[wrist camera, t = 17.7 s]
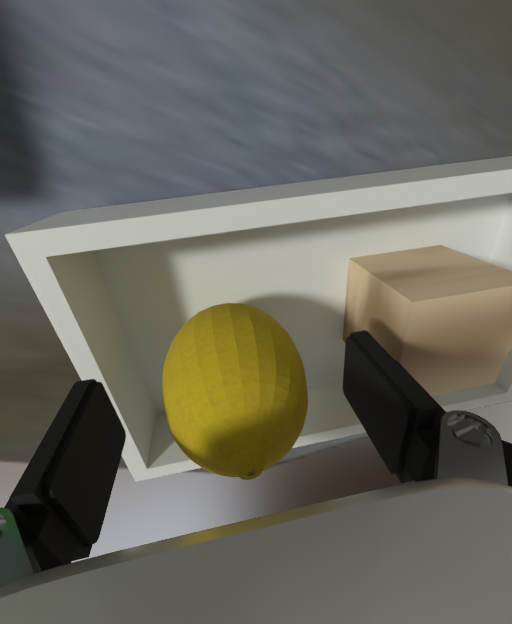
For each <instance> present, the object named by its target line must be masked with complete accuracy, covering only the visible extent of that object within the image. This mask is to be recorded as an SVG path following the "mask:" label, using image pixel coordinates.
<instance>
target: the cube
mask: <svg viewBox="0 0 512 624" xmlns="http://www.w3.org/2000/svg"><path fill="white" fill-rule="evenodd" d="M363 330H366V331H368V332H369V333H370V334H371V335H372V337H373V338H374V339H375V340H376V341H377V342H378V343H379V344H380V345H381V346H382V347H383V348H384V349H385V350H386V351H387V352H388V353H389V355H390V356H391V357H392V358H393V359H394V360H396V361H398V362H399V363H400V364H401V365H402V366H403V367H404V368H405V369H406V370H407V371H408V372H409V374H410V375H411V376H412V377H413V378H414V379H415V380H416V381H417V382H418V383H419V384H420V385H421V386H422V387H423V388H424V389H425V390H426V391H427V392H428V393H429V394H430V396H434V395H439V394H444V393H449V392H454V391H459V390H464V389H469V388H474V387H479V386H484V385H489V384H494V383H495V382H496V380H497V378H498V375H499V373H500V371H501V368H502V366H503V364H504V361H505V359H506V357H507V354H508V352H509V350H510V348H511V345H512V271H509V270H507V269H504V268H501V267H499V266H496V265H493V264H491V263H488V262H485V261H482V260H480V259H477V258H474V257H472V256H469V255H466V254H463V253H461V252H458V251H455V250H453V249H450V248H447V247H445V246H442V245H437V246H430V247H423V248H416V249H409V250H402V251H395V252H388V253H381V254H374V255H367V256H360V257H353V258H349V261H348V274H347V288H346V301H345V315H344V328H343V341H344V342H345V344H346V338H347V337H350V334H351V333H352V332H357V331H363Z"/></svg>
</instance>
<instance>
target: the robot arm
mask: <svg viewBox="0 0 512 624" xmlns="http://www.w3.org/2000/svg"><path fill="white" fill-rule="evenodd" d="M343 393H344V395H345V397H346V399H347V401H348V402H349V404H350V406H351V407H352V409H353V411H354V412H355V414H356V416H357V417H358V419H359V421H360V422H361V424H362V426H363V427H364V429H365V431H366V432H367V434H368V436H369V438H370V439H371V441H372V443H373V444H374V446H375V448H376V449H377V451H378V453H379V454H380V456H381V458H382V459H383V461H384V463H385V464H386V466H387V468H388V469H389V471H390V472H391V473H392V474H396V475H397V476H398V478H399V480H400V481H401V483H404V482H408V481H413V480H414V481H415V482H413V483H409V484H403V485H399V486H394V487H389V488H384V489H380V490H375V491H370V492H366V493H361V494H357V495H352V496H348V497H344V498H340V499H335V500H331V501H326V502H322V503H318V504H313V505H309V506H305V507H300V508H296V509H292V510H287V511H283V512H279V513H275V514H270V515H266V516H262V517H258V518H253V519H249V520H245V521H241V522H237V523H232V524H228V525H224V526H220V527H216V528H211V529H207V530H203V531H199V532H194V533H190V534H186V535H182V536H178V537H174V538H170V539H165V540H161V541H157V542H153V543H149V544H145V545H141V546H137V547H133V548H128V549H125V550H120V551H116V552H112V553H108V554H105V555H101V556H97V557H93V558H89V559H85V560H81V561H77V562H74V563H71V561H74V560H78V559H82V558H86V557H89V554H90V551H91V548H92V544H94V543H96V542H97V540H98V538H99V535H100V532H101V528H102V524H103V521H104V517H105V513H106V509H107V506H108V502H109V499H110V495H111V491H112V488H113V484H114V480H115V477H116V473H117V469H118V466H119V462H120V458H121V455H122V451H123V447H124V444H125V440H126V433H125V429H124V427H123V425H122V423H121V421H120V419H119V417H118V415H117V413H116V411H115V409H114V407H113V405H112V403H111V400H110V398H109V396H108V394H107V392H106V390H105V388H104V386H103V384H102V383H101V382H97V381H96V380H95V379H89V380H84V381H78V382H76V383H75V384H74V385H73V387H72V389H71V390H70V392H69V394H68V396H67V398H66V399H65V401H64V403H63V405H62V406H61V408H60V410H59V412H58V413H57V415H56V417H55V419H54V420H53V422H52V424H51V426H50V427H49V429H48V431H47V433H46V435H45V436H44V438H43V440H42V442H41V443H40V445H39V447H38V449H37V450H36V452H35V454H34V456H33V457H32V459H31V461H30V463H29V464H28V466H27V468H26V470H25V472H24V473H23V475H22V477H21V479H20V480H19V482H18V484H17V486H16V488H15V489H14V491H13V493H12V494H11V496H10V499H9V501H8V502H7V504H6V506H5V507H4V508H0V624H512V444H511V443H508V442H506V441H503V440H501V437H500V434H499V433H498V431H497V430H496V428H495V427H494V426H493V425H491V424H490V423H489V422H488V421H487V420H485V419H483V418H482V417H480V416H478V415H475V414H473V413H470V412H466V411H461V410H453V411H449V412H446V411H445V410H444V409H443V408H442V407H441V406H440V405H439V404H438V403H437V402H436V401H435V400H434V399H433V398H432V397H431V396H430V394H429V393H428V392H427V391H426V390H425V389H424V388H423V387H422V386H421V385H420V384H419V383H418V382H417V381H416V380H415V379H414V378H413V377H412V376H411V375H410V374H409V372H408V371H407V370H406V369H405V368H404V367H403V366H402V365H401V364H400V363H399V362H398V361H396V360H394V359H393V358H392V357H391V356H390V355H389V353H388V352H387V351H386V350H385V349H384V348H383V347H382V346H381V345H380V344H379V343H378V342H377V341H376V340H375V339H374V338H373V337H372V335H371V334H370V333H369V332H368V331H366V330H363V331H357V332H352V333H351V334H350V337H347V338H346V345H345V359H344V373H343Z"/></svg>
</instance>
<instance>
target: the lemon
mask: <svg viewBox="0 0 512 624" xmlns="http://www.w3.org/2000/svg"><path fill="white" fill-rule="evenodd" d="M162 399H163V406H164V411H165V415H166V418H167V422H168V425H169V428H170V431H171V433H172V436H173V438H174V440H175V442H176V443H177V445H178V446H179V447H180V449H181V450H182V451H183V452H184V454H185V455H186V456H187V457H188V458H189V459H190V460H192V461H193V462H194V463H196V464H197V465H199V466H200V467H202V468H204V469H205V470H207V471H210V472H213V473H216V474H219V475H223V476H229V477H240V478H242V479H245V480H249V479H253V478H256V477H258V476H259V475H260V474H261V473H262V471H264V470H266V469H268V468H270V467H272V466H273V465H274V464H276V463H277V462H278V461H280V460H281V459H282V458H283V457H284V456H285V455H286V454H287V453H288V452H289V451H290V449H291V448H292V447H293V446H294V444H295V442H296V441H297V439H298V437H299V435H300V433H301V431H302V429H303V426H304V423H305V418H306V414H307V408H308V392H307V384H306V376H305V370H304V366H303V362H302V359H301V357H300V354H299V352H298V350H297V348H296V346H295V344H294V342H293V340H292V338H291V337H290V335H289V334H288V332H287V331H286V330H285V329H284V328H283V327H282V326H281V325H280V324H279V323H278V322H277V321H276V320H275V319H274V318H273V317H272V316H271V315H269V314H267V313H266V312H264V311H262V310H260V309H258V308H256V307H253V306H250V305H246V304H242V303H225V304H220V305H215V306H211V307H209V308H207V309H205V310H202V311H200V312H198V313H197V314H196V315H194V316H193V317H192V318H191V319H189V320H188V321H187V322H186V323H185V324H184V325H183V327H182V328H181V329H180V330H179V332H178V333H177V334H176V336H175V337H174V339H173V341H172V343H171V346H170V348H169V351H168V353H167V356H166V359H165V362H164V367H163V380H162Z"/></svg>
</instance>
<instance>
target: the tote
mask: <svg viewBox="0 0 512 624" xmlns="http://www.w3.org/2000/svg"><path fill="white" fill-rule="evenodd" d="M5 237H6V238H7V240H8V242H9V244H10V246H11V248H12V250H13V252H14V254H15V255H16V257H17V259H18V261H19V263H20V265H21V267H22V269H23V271H24V272H25V274H26V276H27V278H28V280H29V282H30V284H31V286H32V287H33V289H34V291H35V293H36V295H37V297H38V299H39V301H40V303H41V304H42V306H43V308H44V310H45V312H46V314H47V316H48V318H49V320H50V321H51V323H52V325H53V327H54V329H55V331H56V333H57V335H58V337H59V338H60V340H61V342H62V344H63V346H64V348H65V350H66V352H67V354H68V355H69V357H70V359H71V361H72V363H73V365H74V367H75V369H76V370H77V372H78V374H79V376H80V378H81V380H82V381H84V380H89V379H95V380H96V381H97V382H101V383H102V384H103V386H104V388H105V390H106V392H107V394H108V396H109V398H110V400H111V403H112V405H113V407H114V409H115V411H116V413H117V415H118V417H119V419H120V421H121V423H122V425H123V427H124V429H125V433H126V440H125V444H124V447H123V451H122V457H123V459H124V461H125V463H126V465H127V467H128V469H129V470H130V472H131V474H132V476H133V478H134V480H135V482H137V481H141V480H146V479H151V478H155V477H160V476H165V475H169V474H174V473H179V472H183V471H188V470H193V469H197V468H202V467H200V466H199V465H197V464H196V463H194V462H193V461H192V460H190V459H189V458H188V457H187V456H186V455H185V454H184V452H183V451H182V450H181V449H180V447H179V446H178V445H177V443H176V442H175V440H174V438H173V436H172V433H171V431H170V428H169V425H168V422H167V418H166V415H165V411H164V406H163V399H162V380H163V367H164V362H165V359H166V356H167V353H168V351H169V348H170V346H171V343H172V341H173V339H174V337H175V336H176V334H177V333H178V332H179V330H180V329H181V328H182V327H183V325H184V324H185V323H186V322H187V321H188V320H189V319H191V318H192V317H193V316H194V315H196V314H197V313H198V312H200V311H202V310H205V309H207V308H209V307H211V306H215V305H220V304H225V303H242V304H246V305H250V306H253V307H256V308H258V309H260V310H262V311H264V312H266V313H267V314H269V315H271V316H272V317H273V318H274V319H275V320H276V321H277V322H278V323H279V324H280V325H281V326H282V327H283V328H284V329H285V330H286V331H287V332H288V334H289V335H290V337H291V338H292V340H293V342H294V344H295V346H296V348H297V350H298V352H299V354H300V357H301V359H302V362H303V366H304V370H305V376H306V384H307V392H308V408H307V414H306V418H305V423H304V426H303V429H302V431H301V433H300V435H299V437H298V439H297V441H296V442H295V444H294V446H293V447H292V448H295V447H300V446H304V445H309V444H314V443H318V442H323V441H328V440H332V439H337V438H341V437H346V436H351V435H355V434H360V433H365V432H366V431H365V429H364V427H363V426H362V424H361V422H360V421H359V419H358V417H357V416H356V414H355V412H354V411H353V409H352V407H351V406H350V404H349V402H348V401H347V399H346V397H345V395H344V393H343V373H344V359H345V345H346V344H345V342H344V341H343V328H344V315H345V301H346V288H347V274H348V261H349V258H353V257H360V256H367V255H374V254H381V253H388V252H395V251H402V250H409V249H416V248H423V247H430V246H437V245H442V246H445V247H447V248H450V249H453V250H455V251H458V252H461V253H463V254H466V255H469V256H472V257H474V258H477V259H480V260H482V261H485V262H488V263H491V264H493V265H496V266H499V267H501V268H504V269H507V270H509V271H512V156H509V157H501V158H493V159H484V160H476V161H468V162H460V163H452V164H444V165H436V166H428V167H420V168H412V169H404V170H396V171H388V172H380V173H372V174H364V175H356V176H348V177H340V178H332V179H323V180H315V181H307V182H299V183H291V184H283V185H275V186H267V187H259V188H251V189H243V190H235V191H227V192H219V193H211V194H203V195H195V196H187V197H179V198H171V199H162V200H154V201H146V202H138V203H130V204H122V205H114V206H106V207H98V208H90V209H82V210H74V211H66V212H61V213H59V214H56V215H54V216H51V217H48V218H46V219H43V220H41V221H38V222H36V223H33V224H30V225H28V226H25V227H23V228H20V229H18V230H15V231H13V232H10V233H7V234H5ZM431 397H432V398H433V399H434V400H435V401H436V402H437V403H438V404H439V405H440V406H441V407H442V408H443V409H444V410H445V411H446V412H449V411H453V410H461V411H467V410H472V409H476V408H481V407H485V406H490V405H495V404H500V403H504V402H509V401H512V345H511V348H510V350H509V352H508V354H507V357H506V359H505V361H504V364H503V366H502V368H501V371H500V373H499V375H498V378H497V380H496V382H495V383H494V384H489V385H484V386H479V387H474V388H469V389H464V390H459V391H454V392H449V393H444V394H439V395H434V396H431Z"/></svg>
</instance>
